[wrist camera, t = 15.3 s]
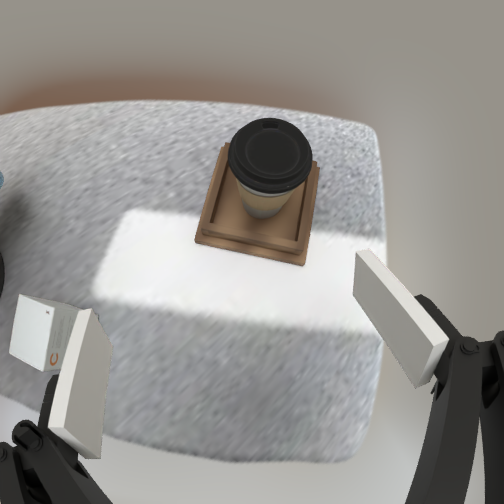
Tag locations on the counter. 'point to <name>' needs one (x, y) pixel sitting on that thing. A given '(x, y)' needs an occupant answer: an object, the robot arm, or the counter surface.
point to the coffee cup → (268, 164)
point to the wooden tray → (254, 229)
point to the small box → (42, 332)
